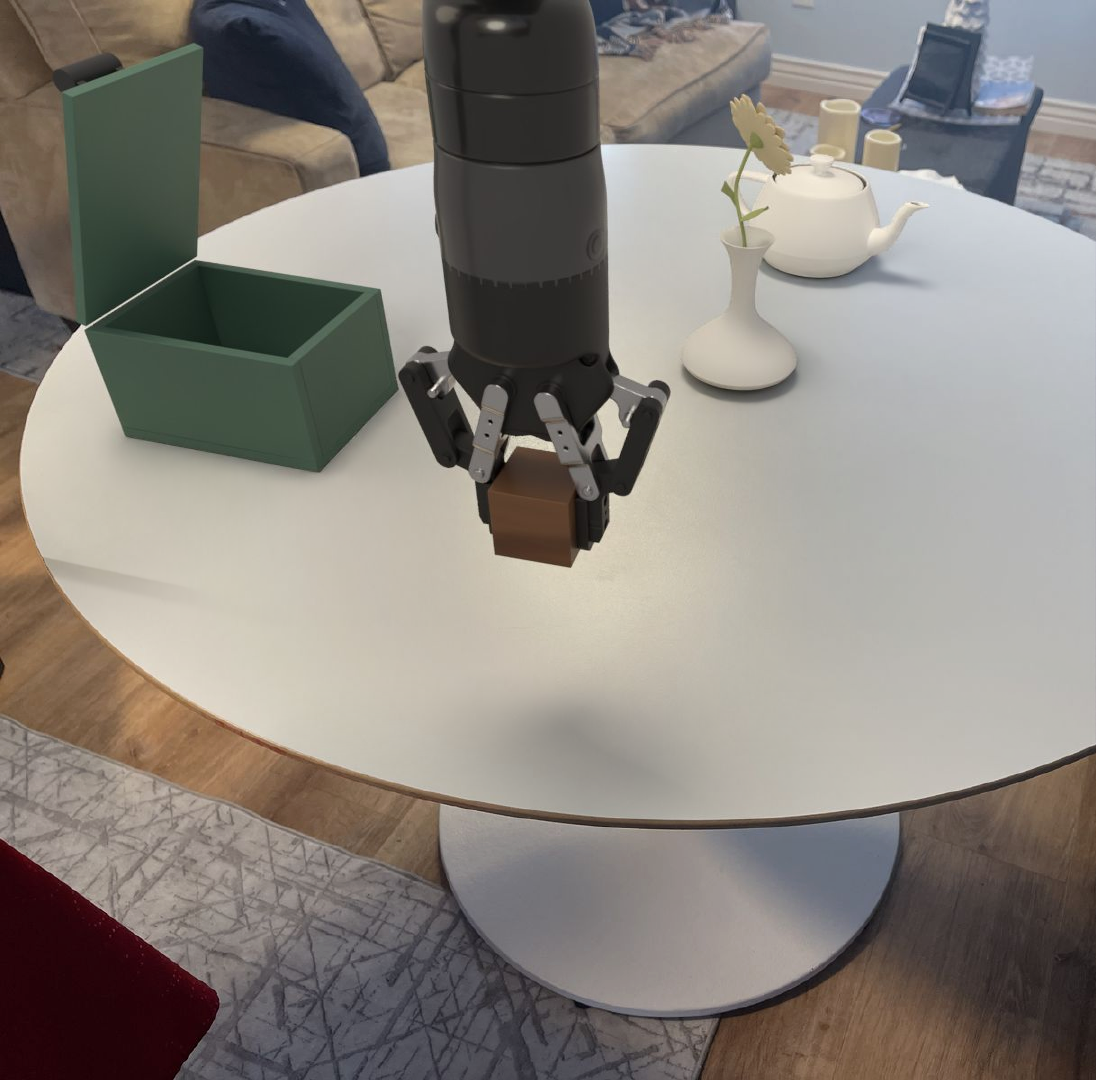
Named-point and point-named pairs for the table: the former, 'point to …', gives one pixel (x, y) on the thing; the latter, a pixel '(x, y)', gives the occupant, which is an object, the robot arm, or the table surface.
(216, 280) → the box
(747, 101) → the flower in vase
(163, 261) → the lid
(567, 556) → the block
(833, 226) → the teapot
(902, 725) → the table surface
